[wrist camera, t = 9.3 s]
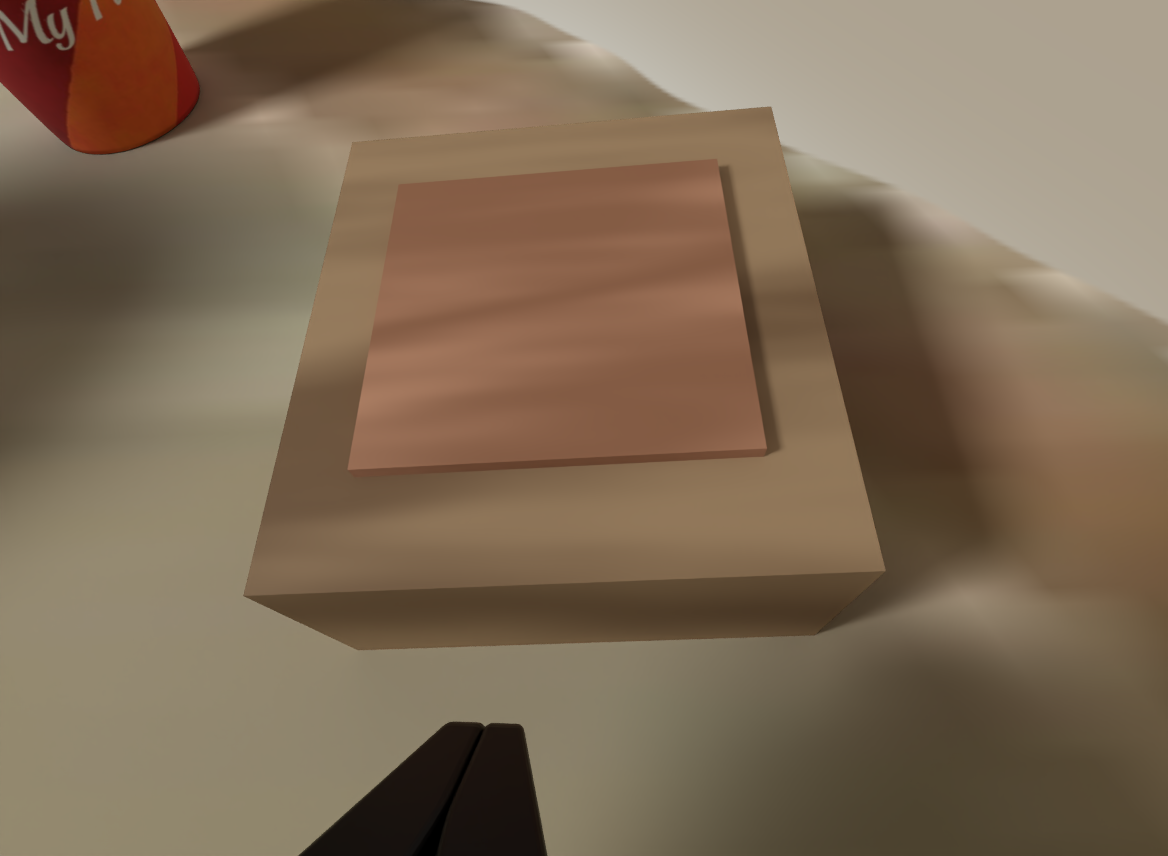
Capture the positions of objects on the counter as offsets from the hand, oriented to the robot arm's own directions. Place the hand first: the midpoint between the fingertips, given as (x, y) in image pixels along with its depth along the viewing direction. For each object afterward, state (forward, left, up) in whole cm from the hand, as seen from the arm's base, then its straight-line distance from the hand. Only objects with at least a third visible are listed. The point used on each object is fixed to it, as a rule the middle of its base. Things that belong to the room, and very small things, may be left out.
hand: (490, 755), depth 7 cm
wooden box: (+2, -1, -4) cm, 5 cm away
